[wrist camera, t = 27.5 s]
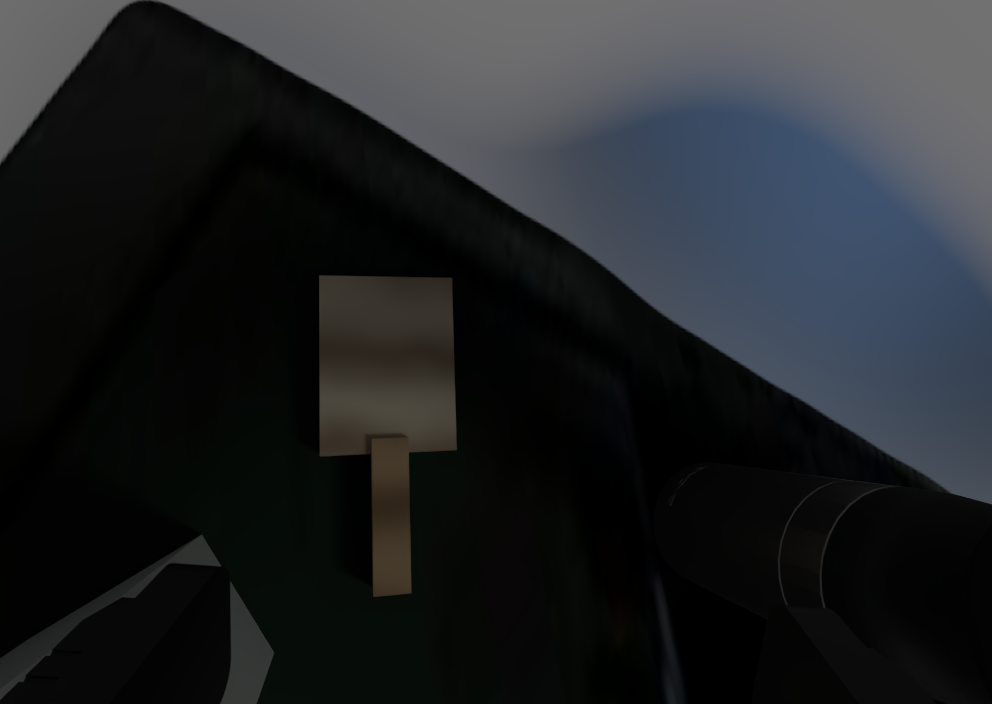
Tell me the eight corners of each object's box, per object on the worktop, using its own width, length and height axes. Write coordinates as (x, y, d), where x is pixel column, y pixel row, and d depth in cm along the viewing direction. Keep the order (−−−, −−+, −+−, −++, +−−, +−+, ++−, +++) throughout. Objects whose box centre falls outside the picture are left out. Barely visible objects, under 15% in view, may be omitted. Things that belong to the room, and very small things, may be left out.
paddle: (455, 578, 42) (461, 588, 40) (322, 591, 40) (319, 602, 38) (447, 284, 45) (453, 276, 42) (320, 282, 43) (318, 273, 40)
